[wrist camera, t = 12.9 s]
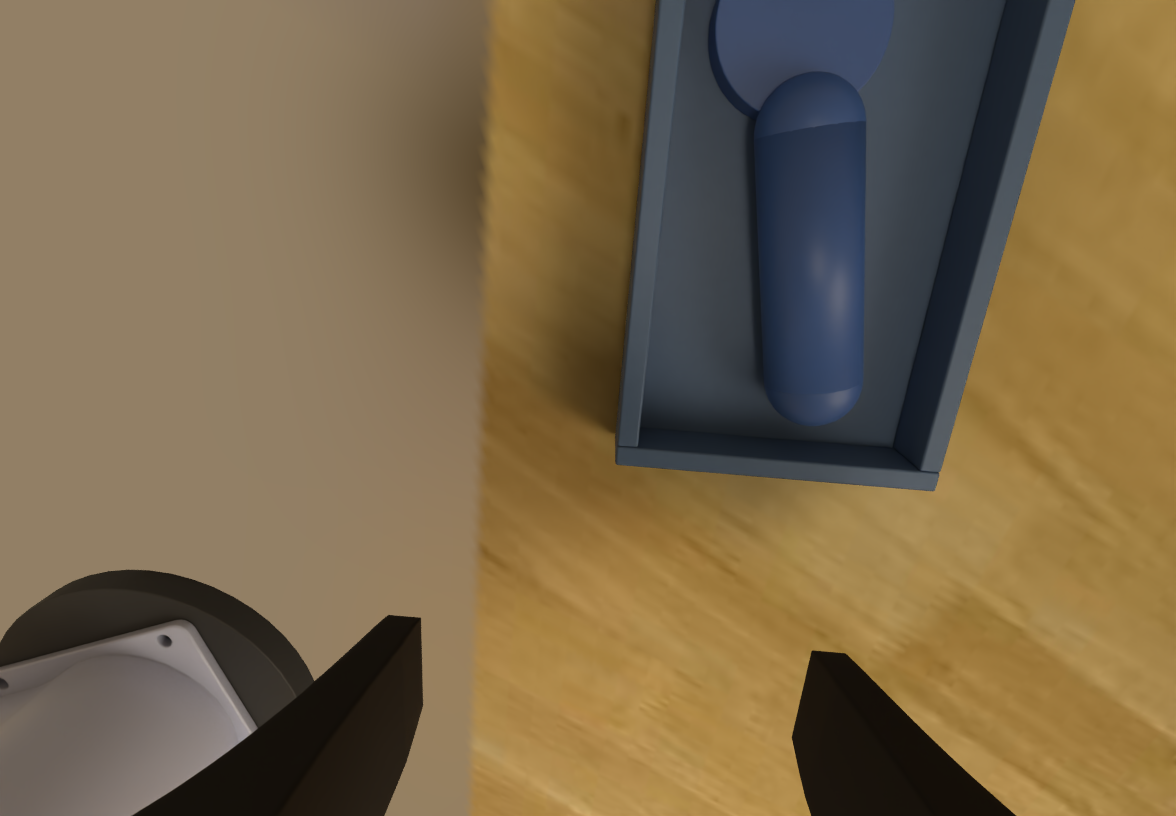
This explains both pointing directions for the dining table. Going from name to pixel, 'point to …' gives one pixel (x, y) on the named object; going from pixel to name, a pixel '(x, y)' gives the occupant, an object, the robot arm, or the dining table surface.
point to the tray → (892, 246)
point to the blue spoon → (806, 184)
